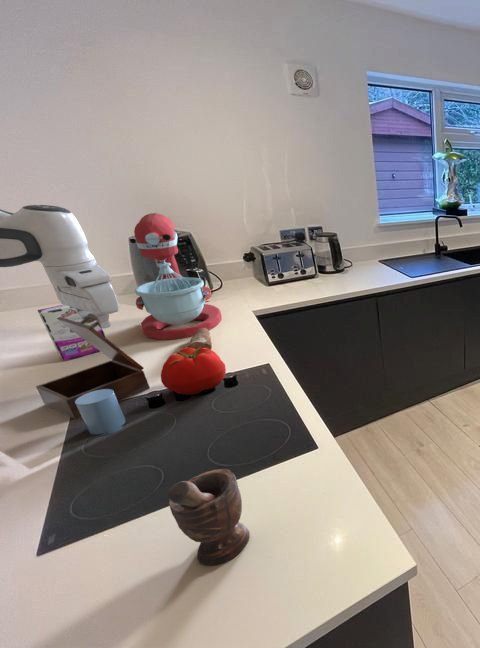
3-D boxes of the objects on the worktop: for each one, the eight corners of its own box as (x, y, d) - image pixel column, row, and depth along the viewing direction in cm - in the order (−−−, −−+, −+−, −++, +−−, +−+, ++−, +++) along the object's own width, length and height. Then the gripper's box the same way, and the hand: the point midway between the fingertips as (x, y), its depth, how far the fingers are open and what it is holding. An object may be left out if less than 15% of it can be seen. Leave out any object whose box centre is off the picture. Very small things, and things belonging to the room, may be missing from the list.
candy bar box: (106, 344, 135) (87, 299, 128) (110, 348, 132) (92, 302, 126) (58, 357, 126) (36, 309, 120) (62, 361, 123) (40, 312, 117)
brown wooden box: (76, 422, 97) (66, 400, 95) (46, 407, 102) (35, 386, 100) (150, 390, 110) (143, 370, 108) (120, 378, 115) (112, 359, 113)
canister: (99, 439, 91) (84, 407, 88) (84, 432, 94) (68, 400, 90) (132, 424, 97) (119, 392, 93) (117, 417, 99) (104, 386, 96)
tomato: (234, 388, 112) (224, 351, 108) (170, 408, 103) (156, 369, 98) (224, 371, 121) (214, 336, 116) (164, 387, 112) (150, 350, 107)
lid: (88, 329, 96) (109, 314, 99) (56, 318, 101) (77, 305, 104) (141, 370, 108) (159, 356, 111) (110, 359, 113) (128, 345, 116)
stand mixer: (139, 347, 133) (94, 227, 118) (146, 317, 157) (109, 213, 141) (224, 331, 147) (194, 221, 131) (219, 305, 170) (193, 209, 154)
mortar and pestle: (264, 560, 66) (235, 467, 58) (200, 597, 60) (159, 498, 53) (246, 517, 73) (219, 429, 66) (188, 545, 68) (150, 453, 60)
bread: (189, 360, 126) (183, 344, 124) (195, 338, 141) (190, 323, 139) (213, 356, 129) (208, 340, 127) (216, 334, 144) (212, 320, 142)
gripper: (35, 271, 98) (60, 322, 104) (80, 282, 91) (103, 336, 97) (69, 265, 104) (91, 313, 109) (113, 275, 97) (134, 326, 102)
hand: (97, 324), depth 103 cm, fingers closed on lid, 6 cm apart
